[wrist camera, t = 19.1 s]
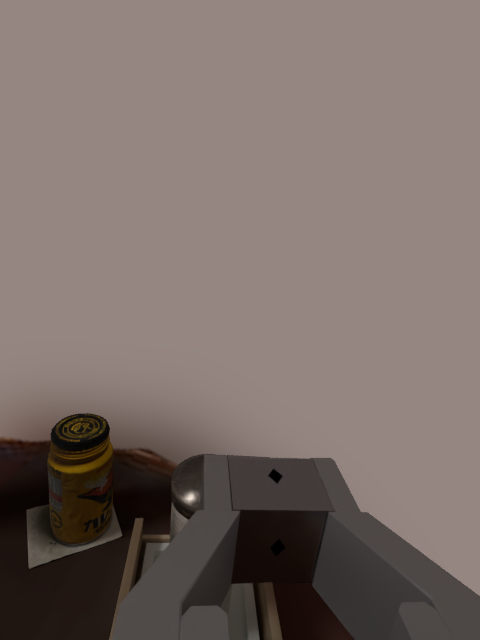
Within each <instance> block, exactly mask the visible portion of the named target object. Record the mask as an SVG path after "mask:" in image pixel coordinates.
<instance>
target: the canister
mask: <svg viewBox="0 0 480 640" xmlns="http://www.w3.org/2000/svg"><path fill="white" fill-rule="evenodd" d="M204 455H205V454H202V455H197V456H193V457H190V458H188V459H186V460H184V461H183V462H182V463H180V464H179V465H178V466H177V467H176V469H175V470H174V472H173V475H172V484H171V500H172V508H171V524H170V540H169V544H170V543H171V541H172V540H173V539H174V538H175V536H176V535H177V534H178V533H179V532H180V530H181V529H182V528H183V527H184V526H185V524H186V523H187V522H188V521H189V519H190V518H191V517H192V516H193V515H194V513H195V512H196V511H197V510H199V502H200V490H201V480H202V469H203V459H204ZM207 455H214V454H207ZM232 585H233V584H231V587H230V589H229V591H228V593H227V595H226V597H225V599H224V601H223V604H222V606H221V609H222V610H223V611H224V612H226V613H227V617H228V614H229V607H230V600H231V592H232Z"/></svg>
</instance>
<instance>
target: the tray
mask: <svg viewBox="0 0 480 640" xmlns="http://www.w3.org/2000/svg"><path fill="white" fill-rule="evenodd" d="M168 545H169V543H147V544H146V550H145V556H144V562H143V568H142V573H141V578H142V576H143V575H144V574H145V573H146V572H147V570H148V569H149V568H150V567H151V566H152V564H153V563H154V562H155V561H156V559H157V558H158V557H159V556H160V555H161V553H162V552H163V551H164V550H165V549H166V547H167V546H168ZM228 632H229V640H260V639H259V631H258V623H257V615H256V607H255V599H254V591H253V583H243V584H233V585H232V592H231V600H230V607H229V614H228Z"/></svg>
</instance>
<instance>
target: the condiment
mask: <svg viewBox="0 0 480 640" xmlns="http://www.w3.org/2000/svg"><path fill="white" fill-rule="evenodd" d="M109 430H110V428H109V425H108V422H107V421H106V419H104V418H103V417H101V416H98V415H94V414H75V415H71V416H68V417H66V418H64V419H62V420H61V421H59V422H58V423H57V424H56V425H55V427H54V428H53V429H52V432H51V441H52V442H51V446H50V447H51V450H50V452H49V454H48V459H47V460H48V461H47V465H48V479H49V480H48V481H49V503H50V504H48V505H44V506H39V507H35V508H32V509H28V510H26V512H27V533H28V558H29V569H30V568H32V567H35V566H37V565H40V564H44V563H47V562H49V561H51V560H54V559H58V558H61V557H63V556H66V555H70V554H72V553H76V552H79V551H83V550H86V549H88V548H91V547H94V546H97V545H100V544H103V543H106V542H108V541H112V540H114V539H117V538H119V537H121V536H123V535H122V532H121V529H120V526H119V523H118V520H117V516H116V513H115V510H114V507H113V503H112V501H113V447H112V445H111V442H110V438H109ZM49 542H53V544H50V543H49ZM54 543H57V545H55V544H54Z"/></svg>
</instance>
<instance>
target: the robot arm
mask: <svg viewBox="0 0 480 640" xmlns="http://www.w3.org/2000/svg"><path fill="white" fill-rule="evenodd" d="M267 582H279V583H312V586H313V587H314V589H315V590H316V591H317V592H318V594H319V595H320V596H321V598H322V599H323V600H324V601H325V603H326V604H327V605H328V606H329V608H330V609H331V610H332V612H333V613H334V614H335V615H336V617H337V618H338V619H339V620H340V622H341V623H342V624H343V625H344V627H345V628H346V629H347V631H348V632H349V633H350V634H351V636H352V637H353V638H354V639H355V640H480V596H478V595H477V594H476V593H475V592H473V591H472V590H471V589H469V588H468V587H467V586H465V585H464V584H462V583H461V582H460V581H458V580H457V579H456V578H454V577H453V576H452V575H450V574H449V573H448V572H446V571H445V570H444V569H442V568H441V567H440V566H438V565H437V564H436V563H434V562H433V561H432V560H430V559H429V558H428V557H426V556H425V555H424V554H422V553H421V552H420V551H418V550H417V549H416V548H414V547H413V546H412V545H410V544H409V543H407V542H406V541H405V540H403V539H402V538H401V537H400V536H398V535H397V534H395V533H394V532H393V531H392V530H390V529H389V528H388V527H386V526H385V525H383V524H382V523H381V522H380V521H378V520H377V519H375V518H374V517H373V516H372V515H370V514H369V513H367V512H360V510H359V508H358V506H357V504H356V502H355V500H354V498H353V496H352V494H351V492H350V490H349V488H348V486H347V484H346V483H345V480H344V479H343V477H342V475H341V473H340V471H339V469H338V467H337V465H336V463H335V461H334V460H332V459H331V458H310V459H297V458H269V457H251V456H233V455H227V456H226V455H207V454H205V455H204V459H203V469H202V480H201V490H200V502H199V510H197V511H196V512H195V513H194V515H193V516H192V517H191V518H190V519H189V521H188V522H187V523H186V524H185V526H184V527H183V528H182V529H181V530H180V532H179V533H178V534H177V535H176V536H175V538H174V539H173V540H172V541H171V543H170V544H169V545H168V546H167V547H166V549H165V550H164V551H163V552H162V553H161V555H160V556H159V557H158V558H157V559H156V561H155V562H154V563H153V564H152V566H151V567H150V568H149V569H148V570H147V572H146V573H145V574H144V575H143V576H142V578H141V579H140V580H139V581H138V583H137V584H136V585H135V586H134V587H133V589H132V590H131V591H130V592H129V593H128V595H127V596H126V597H125V598H124V599H123V601H122V602H121V603H120V604H119V609H118V614H117V618H116V623H115V627H114V632H113V637H112V640H229V632H228V617H227V613H226V612H224V611H223V610H222V609H221V606H222V604H223V601H224V599H225V597H226V595H227V593H228V591H229V589H230V587H231V584H243V583H267Z"/></svg>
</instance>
